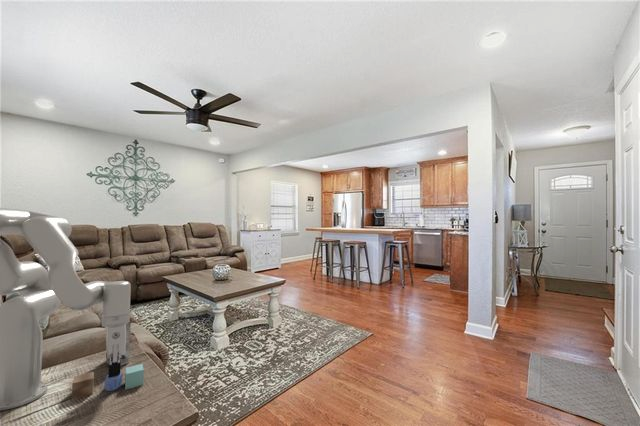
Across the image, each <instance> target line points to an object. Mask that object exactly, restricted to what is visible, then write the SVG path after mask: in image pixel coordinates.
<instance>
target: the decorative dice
mask: <svg viewBox="0 0 640 426" xmlns="http://www.w3.org/2000/svg"><path fill="white" fill-rule="evenodd" d="M122 382H123V374H122V373H121V372H120V375H117V376H113V377H108V375H106V377H105V379H104V385H103V386H104V390H105V391H107V392H111V391H115V390H118V389H119V388H120V387H121V386H122Z"/></svg>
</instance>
